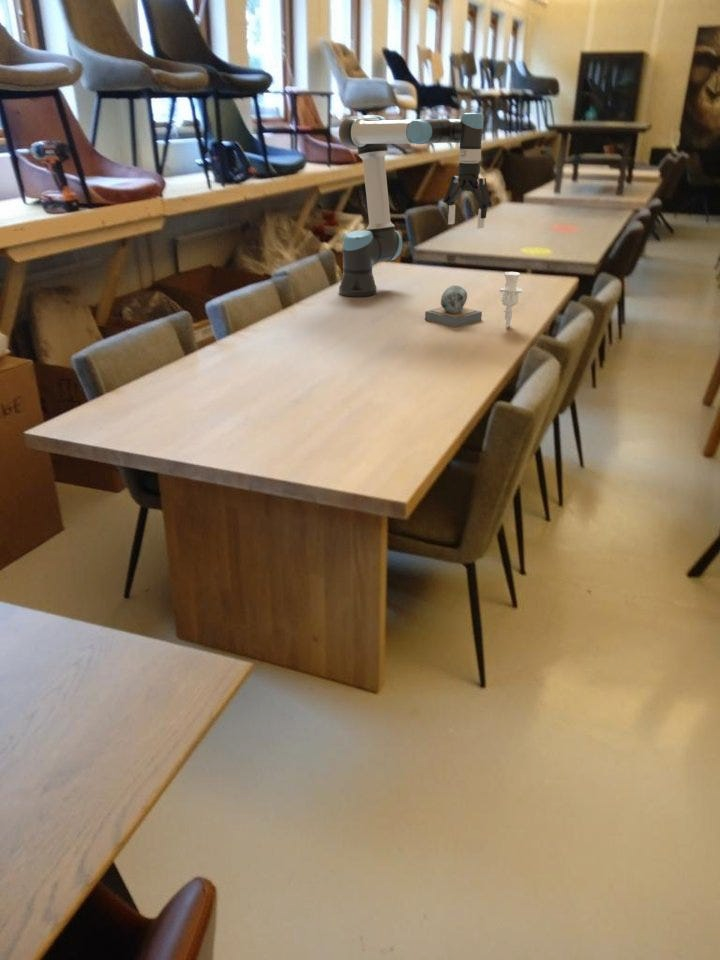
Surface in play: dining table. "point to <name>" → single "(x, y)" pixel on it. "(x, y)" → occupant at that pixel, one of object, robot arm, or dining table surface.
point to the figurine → (510, 294)
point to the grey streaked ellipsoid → (454, 299)
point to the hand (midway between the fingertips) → (465, 226)
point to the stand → (453, 316)
